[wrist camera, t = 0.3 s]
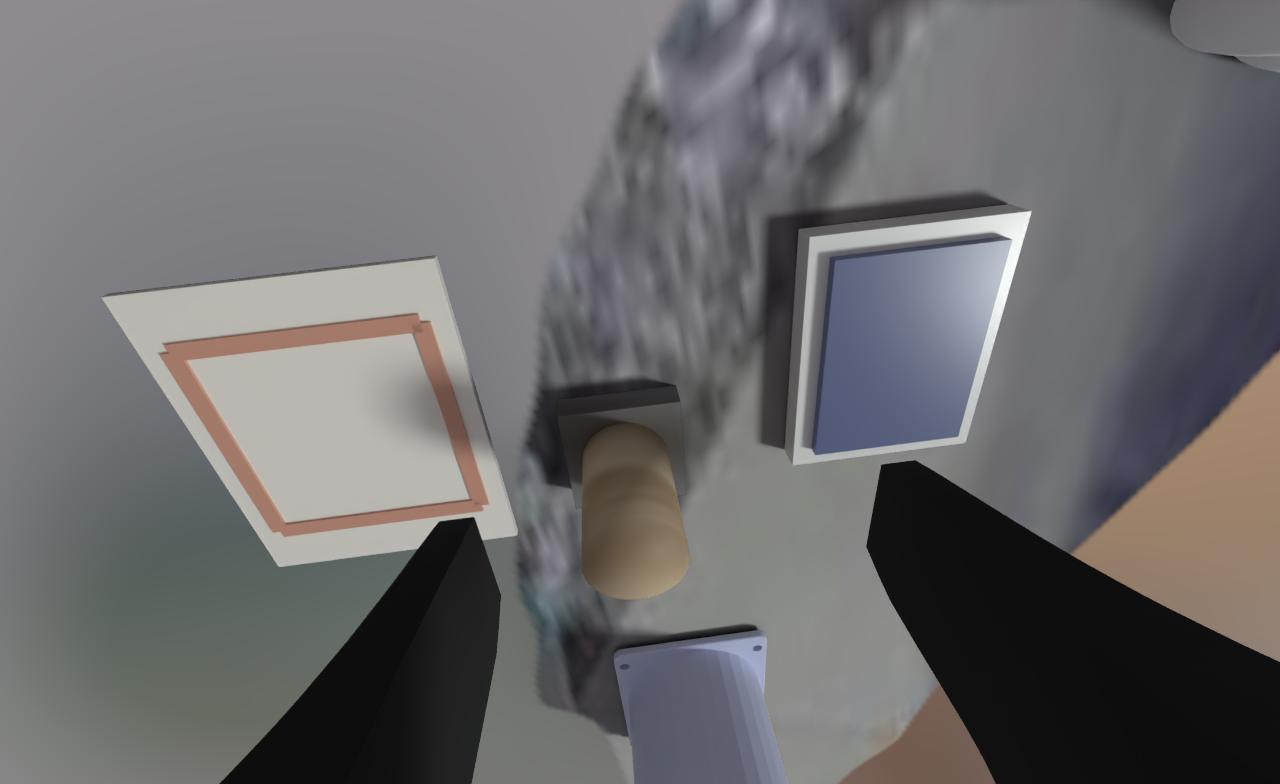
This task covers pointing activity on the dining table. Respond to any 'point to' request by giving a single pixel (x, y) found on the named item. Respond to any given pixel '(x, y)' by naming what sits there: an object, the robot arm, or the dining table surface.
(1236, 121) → the dining table surface
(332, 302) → the sheet
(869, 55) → the dining table surface
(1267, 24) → the mug
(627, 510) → the stamp
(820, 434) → the ink pad
